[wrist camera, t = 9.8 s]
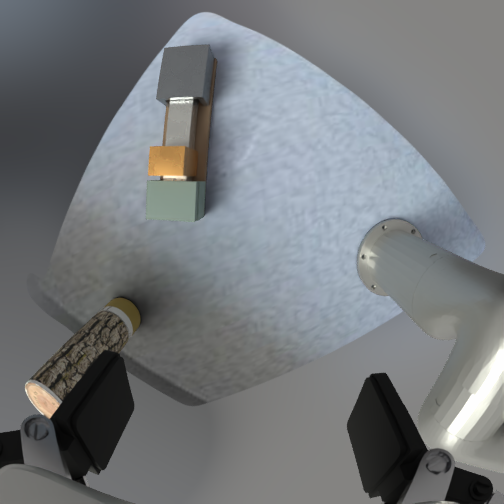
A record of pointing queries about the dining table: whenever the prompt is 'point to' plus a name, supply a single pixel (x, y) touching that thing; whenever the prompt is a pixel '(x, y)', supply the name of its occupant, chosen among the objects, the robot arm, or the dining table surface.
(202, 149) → the board
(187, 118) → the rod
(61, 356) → the brown bark cylinder
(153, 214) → the socket
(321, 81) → the dining table surface
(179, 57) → the sleeve
